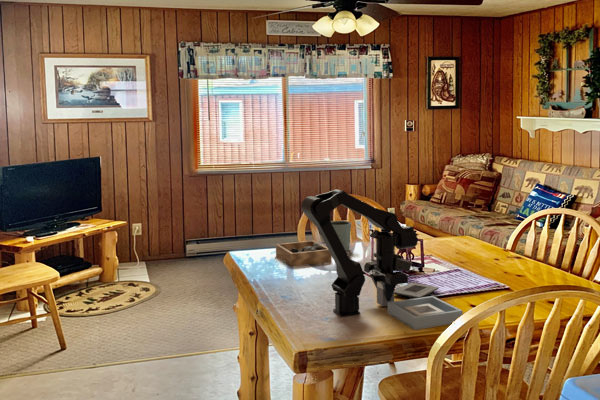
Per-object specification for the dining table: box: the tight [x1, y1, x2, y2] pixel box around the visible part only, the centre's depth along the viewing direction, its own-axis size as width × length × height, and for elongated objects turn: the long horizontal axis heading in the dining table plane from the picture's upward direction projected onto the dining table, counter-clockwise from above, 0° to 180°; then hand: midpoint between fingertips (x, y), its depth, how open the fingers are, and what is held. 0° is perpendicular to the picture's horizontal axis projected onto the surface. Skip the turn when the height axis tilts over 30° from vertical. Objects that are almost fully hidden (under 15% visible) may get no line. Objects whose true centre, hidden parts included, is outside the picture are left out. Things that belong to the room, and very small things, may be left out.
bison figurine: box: [290, 242, 322, 253], centre depth 276 cm, size 12×7×10 cm
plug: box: [376, 281, 395, 307], centre depth 214 cm, size 4×4×7 cm
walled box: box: [387, 295, 464, 331], centre depth 202 cm, size 16×16×4 cm
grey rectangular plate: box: [394, 282, 440, 299], centre depth 226 cm, size 13×10×2 cm
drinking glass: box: [331, 220, 352, 253], centre depth 291 cm, size 10×10×12 cm
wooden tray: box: [275, 240, 333, 267], centre depth 277 cm, size 17×19×5 cm
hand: (385, 299), depth 214 cm, fingers closed on plug, 4 cm apart
